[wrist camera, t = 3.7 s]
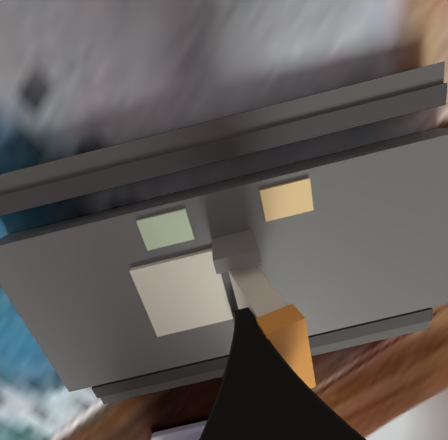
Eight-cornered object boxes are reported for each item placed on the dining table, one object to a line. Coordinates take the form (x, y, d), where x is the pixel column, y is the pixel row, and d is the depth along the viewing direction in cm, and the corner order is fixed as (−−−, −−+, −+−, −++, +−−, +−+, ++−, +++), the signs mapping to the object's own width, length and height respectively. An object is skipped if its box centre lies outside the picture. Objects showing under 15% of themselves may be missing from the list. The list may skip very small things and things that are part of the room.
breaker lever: (258, 303, 14) (316, 387, 9) (235, 312, 14) (281, 404, 9) (246, 250, 13) (304, 315, 8) (220, 259, 13) (264, 332, 8)
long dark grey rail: (418, 106, 13) (445, 104, 12) (13, 208, 14) (-11, 218, 12) (419, 68, 13) (448, 60, 11) (-5, 176, 13) (-33, 182, 12)
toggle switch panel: (490, 267, 17) (575, 309, 13) (83, 363, 18) (48, 431, 14) (515, 108, 14) (639, 101, 10) (7, 234, 14) (-68, 275, 10)
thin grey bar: (412, 314, 18) (431, 331, 17) (111, 384, 19) (102, 407, 17) (413, 293, 17) (432, 308, 16) (101, 366, 18) (91, 388, 16)
